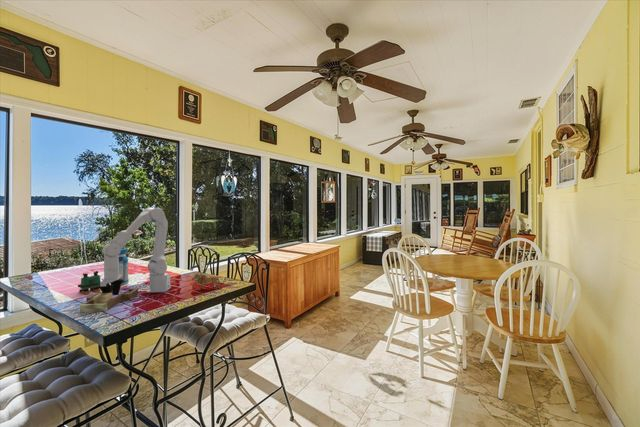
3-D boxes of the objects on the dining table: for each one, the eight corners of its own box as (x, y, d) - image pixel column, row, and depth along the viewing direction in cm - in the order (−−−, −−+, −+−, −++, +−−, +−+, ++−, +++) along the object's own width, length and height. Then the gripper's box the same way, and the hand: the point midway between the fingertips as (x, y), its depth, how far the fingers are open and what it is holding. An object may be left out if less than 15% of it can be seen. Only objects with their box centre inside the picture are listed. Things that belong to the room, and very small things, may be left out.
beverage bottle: (131, 283, 168) (131, 248, 167) (115, 286, 161) (114, 250, 160) (124, 280, 172) (124, 247, 172) (108, 284, 165) (107, 249, 165)
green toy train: (94, 270, 158) (102, 270, 153) (95, 289, 158) (103, 290, 152) (73, 273, 150) (81, 274, 145) (74, 293, 150) (82, 295, 145)
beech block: (112, 303, 134) (112, 292, 134) (106, 307, 130) (106, 296, 129) (100, 304, 133) (99, 293, 133) (93, 307, 129) (93, 296, 128)
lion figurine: (193, 291, 154) (193, 274, 154) (193, 288, 159) (193, 272, 158) (223, 288, 160) (223, 272, 159) (222, 285, 165) (222, 270, 164)
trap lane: (140, 292, 151) (140, 286, 151) (113, 310, 125) (113, 303, 125) (106, 293, 148) (106, 287, 148) (72, 312, 123) (72, 305, 123)
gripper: (110, 265, 145) (111, 292, 145) (92, 272, 130) (93, 302, 131) (126, 265, 146) (126, 292, 146) (109, 272, 131) (110, 302, 132)
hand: (111, 297), depth 139 cm, fingers open, 6 cm apart
